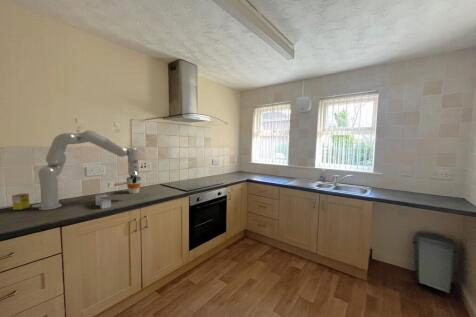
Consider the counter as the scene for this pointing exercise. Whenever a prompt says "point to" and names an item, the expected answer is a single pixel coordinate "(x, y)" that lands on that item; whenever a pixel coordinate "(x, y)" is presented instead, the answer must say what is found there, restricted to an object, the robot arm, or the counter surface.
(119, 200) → the counter surface
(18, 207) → the supplement box
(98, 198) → the housing
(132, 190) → the reusable coffee cup
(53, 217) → the counter surface
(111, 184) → the wooden dumbbell
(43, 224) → the counter surface
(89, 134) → the robot arm
